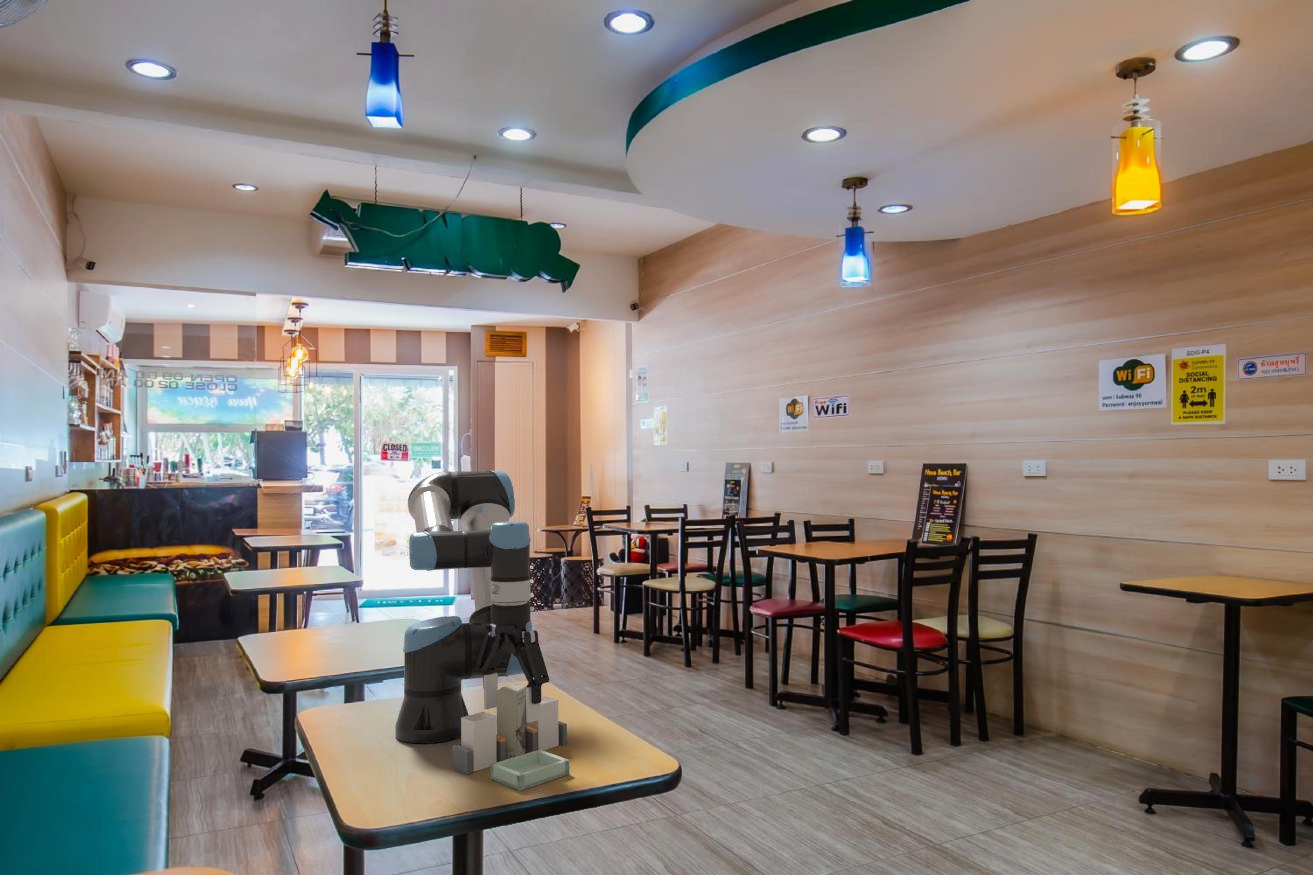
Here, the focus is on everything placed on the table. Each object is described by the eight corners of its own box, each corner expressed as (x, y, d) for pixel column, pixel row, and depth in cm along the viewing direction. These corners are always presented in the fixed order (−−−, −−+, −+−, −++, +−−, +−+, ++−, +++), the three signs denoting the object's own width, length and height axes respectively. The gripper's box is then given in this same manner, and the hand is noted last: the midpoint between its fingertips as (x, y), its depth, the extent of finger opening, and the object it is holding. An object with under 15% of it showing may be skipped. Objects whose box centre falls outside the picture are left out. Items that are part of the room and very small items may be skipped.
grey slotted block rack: (451, 767, 161) (451, 742, 161) (551, 738, 178) (550, 715, 178) (467, 774, 158) (467, 748, 158) (566, 743, 174) (566, 720, 174)
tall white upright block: (461, 766, 162) (461, 717, 162) (484, 759, 166) (483, 711, 166) (473, 771, 159) (473, 721, 159) (496, 764, 163) (496, 715, 163)
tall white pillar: (525, 747, 173) (525, 701, 173) (546, 741, 176) (545, 696, 176) (538, 751, 170) (538, 704, 170) (558, 745, 173) (558, 699, 174)
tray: (490, 778, 155) (490, 764, 155) (539, 762, 163) (539, 749, 163) (519, 790, 149) (519, 775, 149) (569, 773, 157) (569, 759, 157)
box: (517, 760, 165) (517, 691, 165) (495, 759, 166) (495, 690, 166) (527, 751, 170) (527, 684, 170) (506, 750, 171) (506, 683, 171)
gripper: (457, 598, 175) (458, 706, 174) (534, 611, 157) (536, 730, 156) (489, 594, 180) (490, 699, 179) (567, 606, 162) (568, 721, 162)
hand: (511, 714), depth 168 cm, fingers open, 13 cm apart
